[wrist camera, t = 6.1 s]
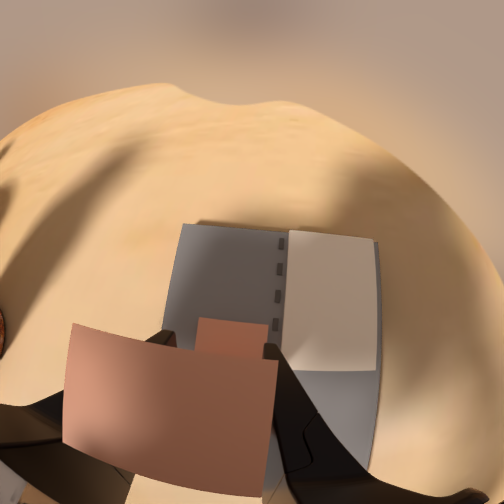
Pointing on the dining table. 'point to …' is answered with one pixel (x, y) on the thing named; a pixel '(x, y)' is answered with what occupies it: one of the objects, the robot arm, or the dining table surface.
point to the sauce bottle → (1, 332)
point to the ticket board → (292, 311)
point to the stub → (174, 405)
